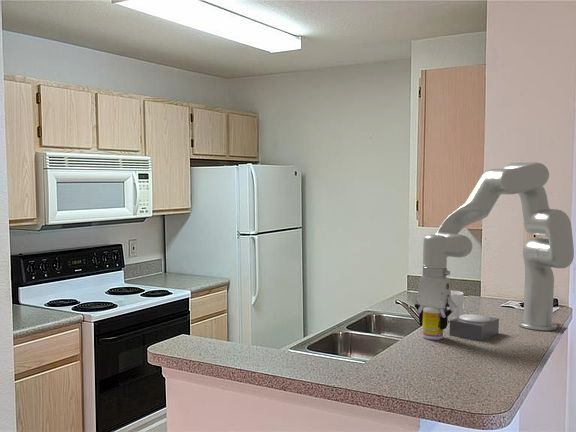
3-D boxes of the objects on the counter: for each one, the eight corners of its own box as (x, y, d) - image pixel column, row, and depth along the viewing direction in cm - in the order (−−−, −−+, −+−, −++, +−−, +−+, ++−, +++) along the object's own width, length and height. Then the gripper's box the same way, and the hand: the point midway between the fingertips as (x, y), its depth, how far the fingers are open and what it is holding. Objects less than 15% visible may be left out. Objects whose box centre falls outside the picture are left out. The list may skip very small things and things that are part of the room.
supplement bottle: (439, 341, 186) (440, 301, 186) (419, 338, 190) (420, 299, 189) (445, 336, 192) (446, 298, 191) (426, 333, 196) (427, 296, 195)
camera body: (467, 327, 205) (468, 311, 205) (498, 333, 198) (499, 316, 197) (449, 334, 195) (449, 317, 194) (481, 341, 187) (481, 323, 187)
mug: (456, 315, 224) (457, 288, 223) (474, 319, 217) (475, 292, 216) (434, 318, 217) (435, 291, 217) (452, 323, 210) (452, 295, 210)
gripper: (464, 274, 187) (462, 329, 188) (416, 268, 198) (415, 320, 199) (454, 277, 181) (452, 333, 182) (405, 270, 193) (403, 324, 194)
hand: (432, 326), depth 191 cm, fingers closed on supplement bottle, 6 cm apart
